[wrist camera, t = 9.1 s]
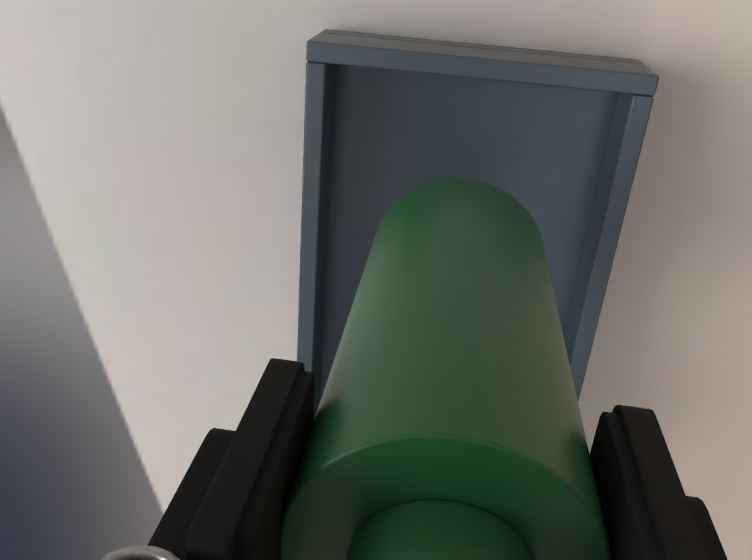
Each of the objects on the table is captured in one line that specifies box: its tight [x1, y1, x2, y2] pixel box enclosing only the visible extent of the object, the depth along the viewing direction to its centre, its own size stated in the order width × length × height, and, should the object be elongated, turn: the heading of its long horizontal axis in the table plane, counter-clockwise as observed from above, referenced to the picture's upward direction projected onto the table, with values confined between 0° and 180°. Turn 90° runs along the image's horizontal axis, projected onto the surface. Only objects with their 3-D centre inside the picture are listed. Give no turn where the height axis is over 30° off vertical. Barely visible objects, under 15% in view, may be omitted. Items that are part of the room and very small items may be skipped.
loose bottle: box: [279, 178, 612, 560], centre depth 13 cm, size 5×5×14 cm
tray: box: [297, 30, 659, 423], centre depth 29 cm, size 34×10×3 cm, turn 176°
